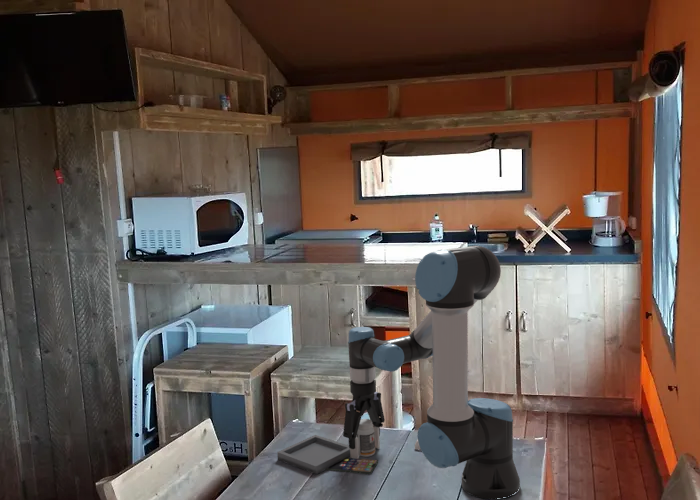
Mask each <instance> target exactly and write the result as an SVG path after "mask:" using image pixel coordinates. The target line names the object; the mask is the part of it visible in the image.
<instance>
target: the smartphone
mask: <svg viewBox="0 0 700 500" xmlns="http://www.w3.org/2000/svg"><path fill="white" fill-rule="evenodd" d="M378 464H379V460H378V459H366V458H365V459H363V458H359V459H354V458H351V457H349V458H345V459H343V460H341V461H339V462H337V463H336V464H334V465H332V466H330V467H328V468H326V469H325V470H324V471H331V472H343V473H352V474H362V475H363V474H365V475H372V473H373V471H374V470H375V468H376V467H377V465H378Z"/></svg>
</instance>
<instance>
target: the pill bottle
mask: <svg viewBox="0 0 700 500" xmlns="http://www.w3.org/2000/svg"><path fill="white" fill-rule="evenodd" d="M372 425H373V424H372V421H371V419H370V418H361V420H360V424H359V428H358V432H357V435H356V437H358V446H359V457H364V458H365V457H366V458H369V457H371V456H373V455H375V454H376V448H375V437H374V429H373V428H372Z"/></svg>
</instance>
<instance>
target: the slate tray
mask: <svg viewBox="0 0 700 500" xmlns="http://www.w3.org/2000/svg"><path fill="white" fill-rule="evenodd" d="M276 454H277V460H278V461H279V462H282V463H285V464H288V465H290V466H293V467H296V468H297V469H298V468H299V469H301V470H304V471H306V472H309V473H311V474H314V475H319V474H321V473H323V472H324V471H326V470H325V469H326V468H328V467H330V466H332V465H334V464H336V463H337V462H339V461H341V460H343V459H345V458H351V457H350V448H349V444H344V443H343V442H339V441H336V440H332V439H330V438H326V437H323V436H321V435H317V434H314V435H312V436H310V437H307V438H305V439H303V440H301V441H298V442H297V443H294V444H292V445H290V446H288V447H284V449H281V450H279V451H277V453H276Z"/></svg>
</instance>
